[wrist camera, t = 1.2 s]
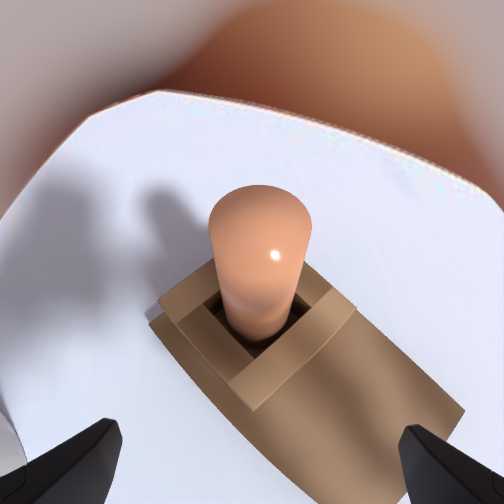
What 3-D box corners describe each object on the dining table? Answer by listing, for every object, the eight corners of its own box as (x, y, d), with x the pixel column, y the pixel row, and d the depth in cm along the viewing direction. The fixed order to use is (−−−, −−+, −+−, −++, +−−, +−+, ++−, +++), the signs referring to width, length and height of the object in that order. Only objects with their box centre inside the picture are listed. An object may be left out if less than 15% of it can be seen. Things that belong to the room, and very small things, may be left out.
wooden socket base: (356, 531, 14) (378, 549, 10) (154, 330, 23) (134, 308, 19) (454, 413, 18) (488, 404, 15) (267, 242, 27) (270, 208, 23)
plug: (254, 360, 20) (257, 288, 11) (215, 319, 21) (188, 219, 12) (297, 322, 21) (332, 224, 12) (257, 284, 23) (262, 172, 14)
